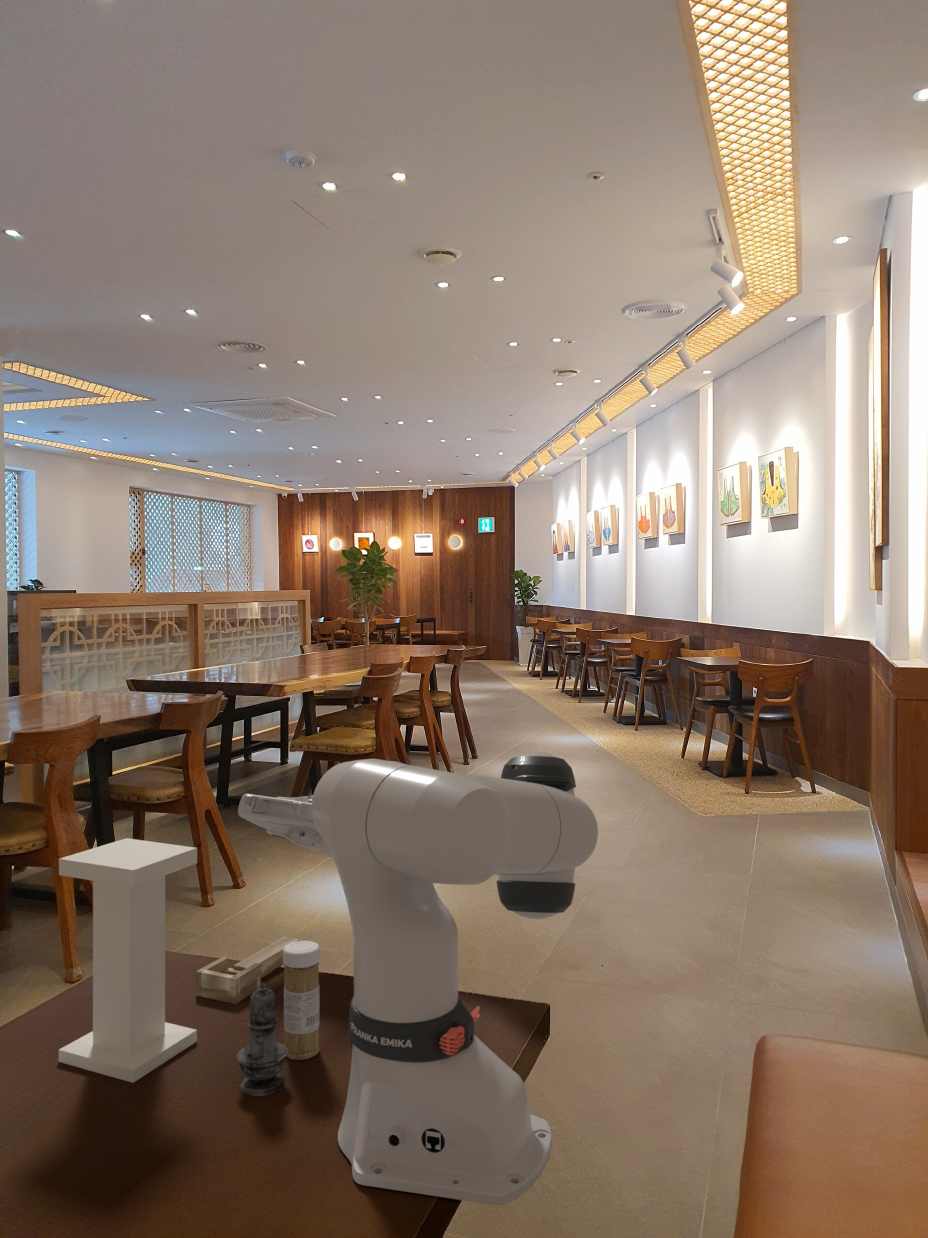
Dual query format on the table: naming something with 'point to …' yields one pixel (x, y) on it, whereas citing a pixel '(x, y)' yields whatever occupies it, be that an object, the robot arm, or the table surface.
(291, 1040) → the sprinkles bottle
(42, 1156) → the table surface
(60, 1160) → the table surface
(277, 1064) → the dark tall tiered piece
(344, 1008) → the table surface
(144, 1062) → the pedestal shelf
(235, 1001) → the scoop
